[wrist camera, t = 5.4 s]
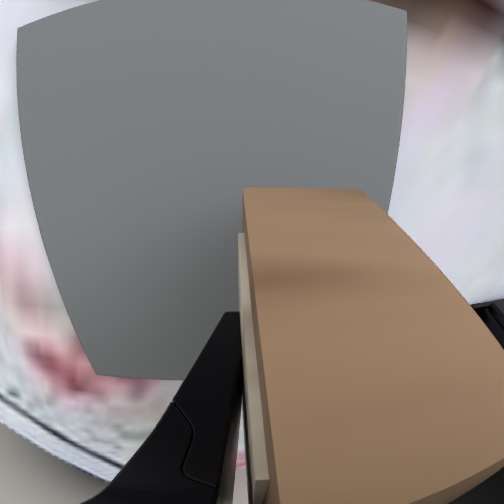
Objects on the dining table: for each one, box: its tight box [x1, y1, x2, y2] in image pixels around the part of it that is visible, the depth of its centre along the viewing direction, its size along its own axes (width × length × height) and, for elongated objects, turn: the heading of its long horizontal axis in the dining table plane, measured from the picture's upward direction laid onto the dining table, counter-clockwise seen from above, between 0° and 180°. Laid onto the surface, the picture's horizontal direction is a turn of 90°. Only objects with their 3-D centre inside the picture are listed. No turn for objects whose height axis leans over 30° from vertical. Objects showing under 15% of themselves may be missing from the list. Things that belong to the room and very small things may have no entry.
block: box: [238, 187, 504, 504], centre depth 7 cm, size 6×4×8 cm, turn 179°
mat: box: [17, 0, 407, 380], centre depth 13 cm, size 20×16×1 cm
